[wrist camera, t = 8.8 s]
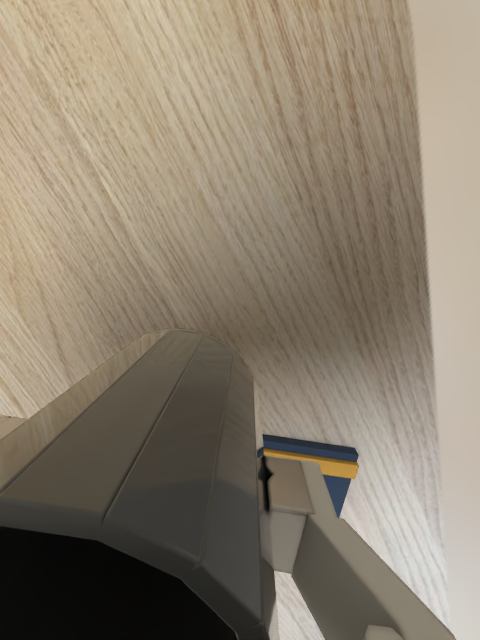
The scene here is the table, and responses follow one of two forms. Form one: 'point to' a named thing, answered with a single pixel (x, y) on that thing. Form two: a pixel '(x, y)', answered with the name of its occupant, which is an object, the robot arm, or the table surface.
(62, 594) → the grey tumbler
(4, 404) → the table surface
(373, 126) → the table surface
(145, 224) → the table surface
